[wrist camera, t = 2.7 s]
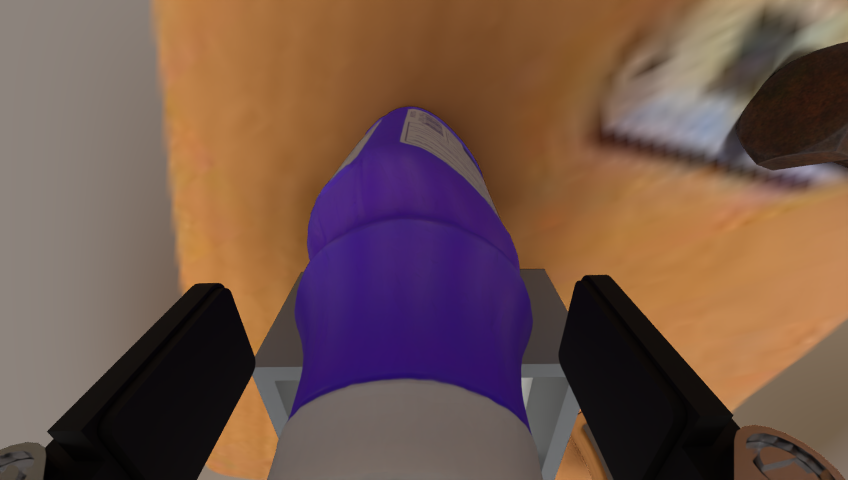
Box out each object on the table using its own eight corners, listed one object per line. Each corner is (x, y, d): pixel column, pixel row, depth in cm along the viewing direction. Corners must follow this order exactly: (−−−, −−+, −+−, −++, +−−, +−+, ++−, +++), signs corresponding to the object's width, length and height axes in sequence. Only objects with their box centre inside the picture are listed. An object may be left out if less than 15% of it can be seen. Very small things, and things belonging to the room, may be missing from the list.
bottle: (340, 151, 19) (24, 546, 4) (413, 78, 17) (341, 295, 2) (425, 234, 22) (429, 655, 7) (496, 178, 20) (726, 590, 5)
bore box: (301, 272, 23) (249, 367, 16) (544, 268, 23) (596, 363, 16) (336, 417, 32) (312, 520, 25) (514, 415, 32) (540, 518, 25)
